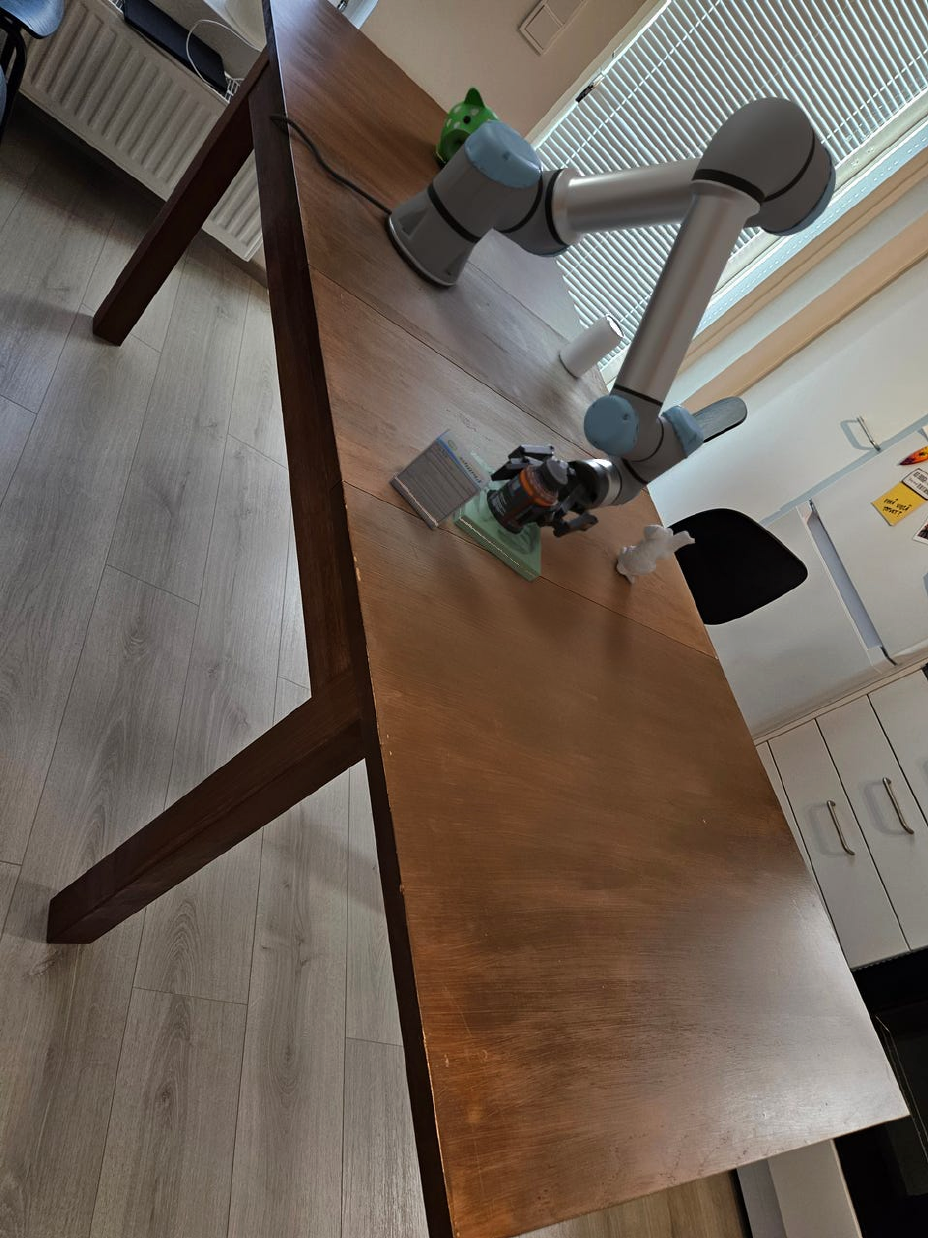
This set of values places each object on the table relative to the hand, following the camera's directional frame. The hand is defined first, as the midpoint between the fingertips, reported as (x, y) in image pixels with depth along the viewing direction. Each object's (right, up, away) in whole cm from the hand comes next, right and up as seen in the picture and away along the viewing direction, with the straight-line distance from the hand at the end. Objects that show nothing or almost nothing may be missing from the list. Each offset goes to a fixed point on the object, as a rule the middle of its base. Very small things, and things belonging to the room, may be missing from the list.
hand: (511, 494), depth 101 cm
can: (+15, +36, +62) cm, 73 cm away
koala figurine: (+20, -8, +30) cm, 37 cm away
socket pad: (-2, -2, +8) cm, 8 cm away
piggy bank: (-9, +81, +70) cm, 107 cm away
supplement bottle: (-2, -2, +8) cm, 8 cm away
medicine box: (-12, -1, -4) cm, 12 cm away
